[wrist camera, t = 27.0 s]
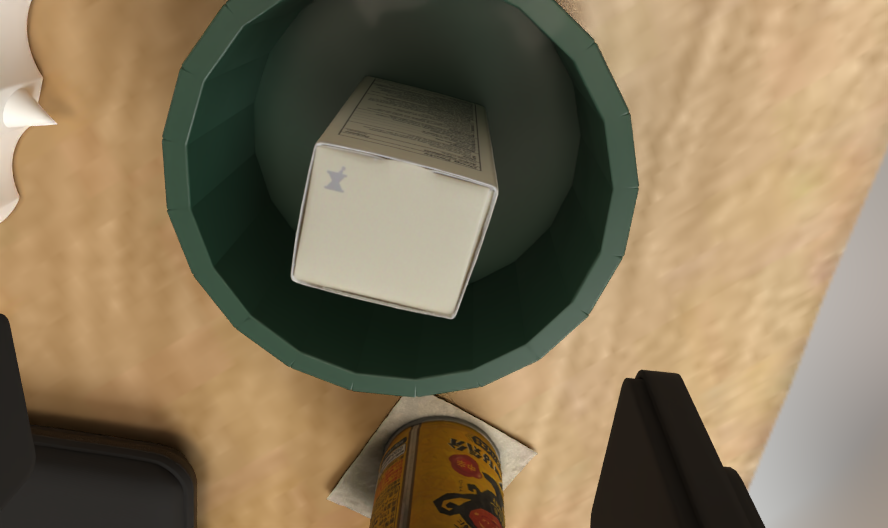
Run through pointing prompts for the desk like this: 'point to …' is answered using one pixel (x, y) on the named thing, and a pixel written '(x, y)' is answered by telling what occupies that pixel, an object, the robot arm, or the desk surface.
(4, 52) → the knuckle duster
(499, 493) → the condiment
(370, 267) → the white cardboard carton
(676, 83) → the desk surface
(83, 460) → the carrying case
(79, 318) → the desk surface
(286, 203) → the tin
